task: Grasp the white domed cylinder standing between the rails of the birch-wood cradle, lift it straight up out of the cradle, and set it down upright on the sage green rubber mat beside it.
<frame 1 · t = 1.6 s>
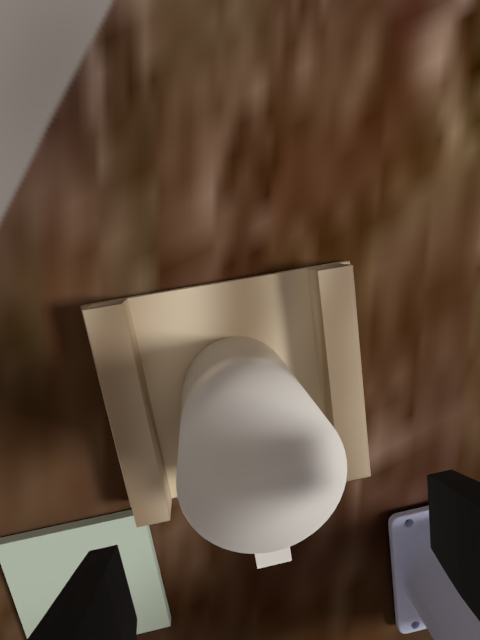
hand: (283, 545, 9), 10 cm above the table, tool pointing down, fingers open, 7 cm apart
white domed cylinder: (236, 388, 18), point 1 cm above the table, touching cradle
mat: (90, 579, 19), on the table
cradle: (235, 384, 18), on the table
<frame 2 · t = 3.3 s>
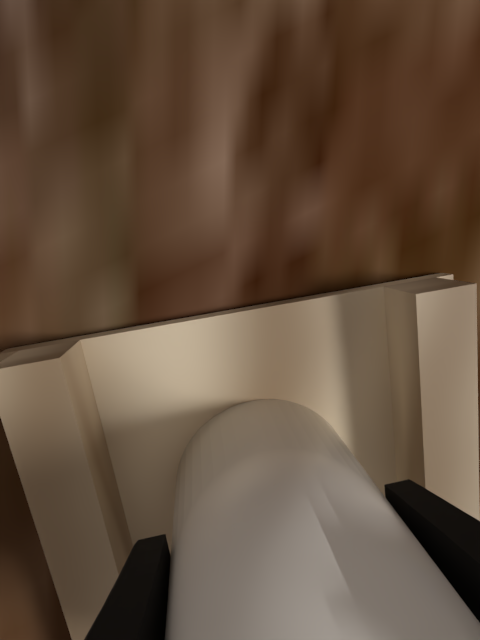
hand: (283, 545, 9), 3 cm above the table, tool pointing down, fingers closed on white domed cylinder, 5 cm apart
white domed cylinder: (263, 480, 11), point 1 cm above the table, touching cradle, gripper
cradle: (260, 470, 11), on the table
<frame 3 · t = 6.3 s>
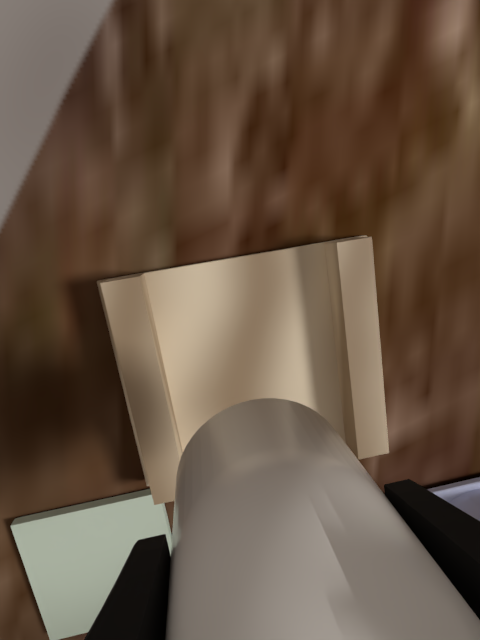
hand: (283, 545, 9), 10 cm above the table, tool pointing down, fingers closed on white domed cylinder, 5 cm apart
white domed cylinder: (263, 479, 11), point 7 cm above the table, touching gripper
mat: (105, 560, 19), on the table
cradle: (251, 361, 18), on the table
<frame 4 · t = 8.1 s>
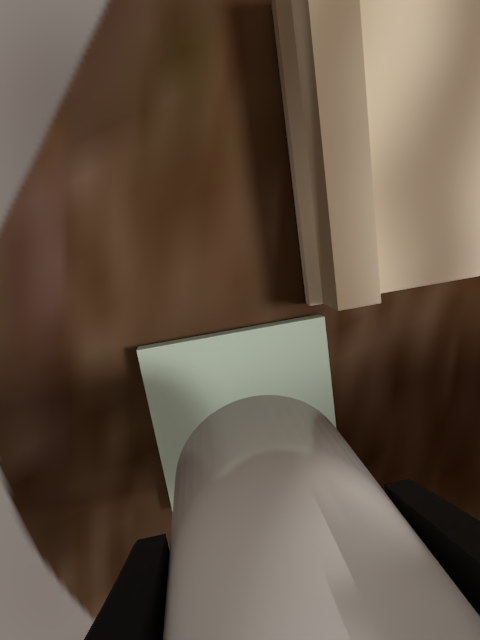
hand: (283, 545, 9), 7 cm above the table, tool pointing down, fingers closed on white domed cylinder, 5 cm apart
white domed cylinder: (263, 476, 11), point 4 cm above the table, touching gripper
mat: (244, 414, 15), on the table
cradle: (448, 143, 14), on the table
when the fingers open (4 cm above the table, at t = 9.7 s): white domed cylinder stays where it is, resting on mat.
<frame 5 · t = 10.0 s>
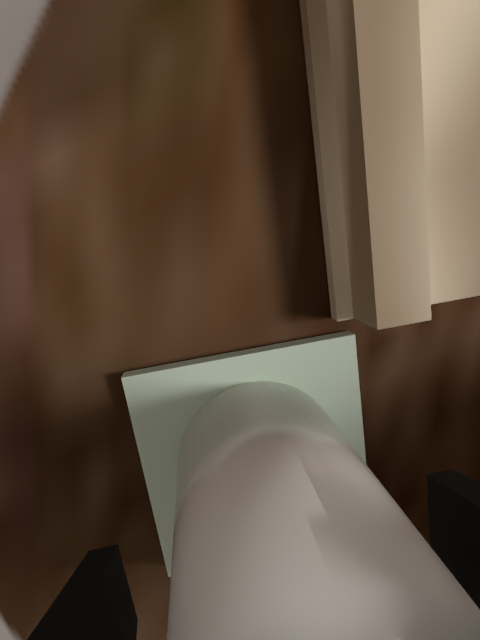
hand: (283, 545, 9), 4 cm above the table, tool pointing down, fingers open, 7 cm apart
white domed cylinder: (258, 456, 12), resting on mat
mat: (255, 451, 12), on the table
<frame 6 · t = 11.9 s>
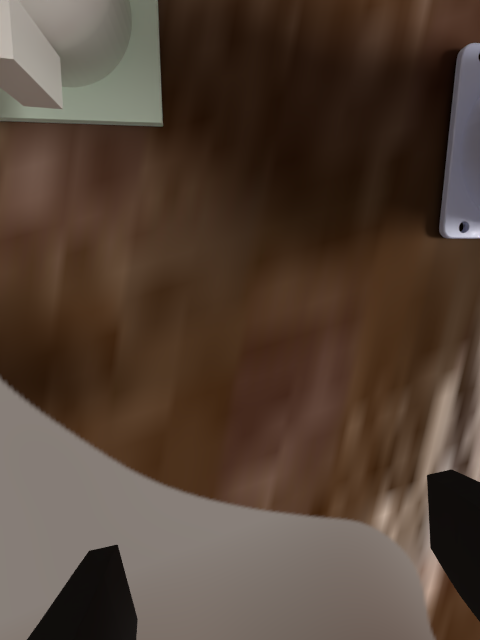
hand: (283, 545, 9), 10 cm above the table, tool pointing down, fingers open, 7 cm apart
white domed cylinder: (62, 12, 14), resting on mat
mat: (65, 23, 14), on the table
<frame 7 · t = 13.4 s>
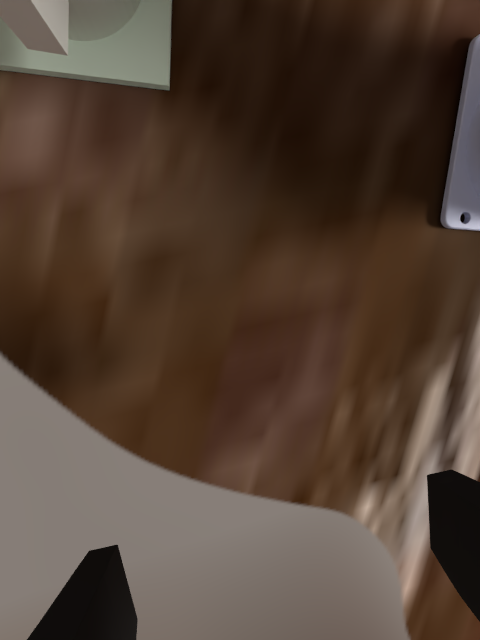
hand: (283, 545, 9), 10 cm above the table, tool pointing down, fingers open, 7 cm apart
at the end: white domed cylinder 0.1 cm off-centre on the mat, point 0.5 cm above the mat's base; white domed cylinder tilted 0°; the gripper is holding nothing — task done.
